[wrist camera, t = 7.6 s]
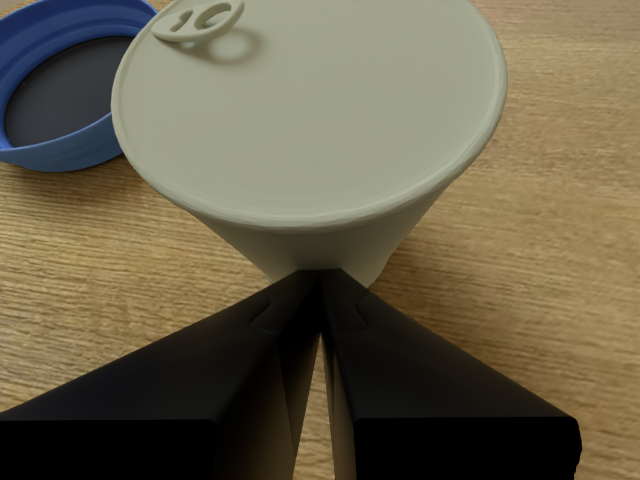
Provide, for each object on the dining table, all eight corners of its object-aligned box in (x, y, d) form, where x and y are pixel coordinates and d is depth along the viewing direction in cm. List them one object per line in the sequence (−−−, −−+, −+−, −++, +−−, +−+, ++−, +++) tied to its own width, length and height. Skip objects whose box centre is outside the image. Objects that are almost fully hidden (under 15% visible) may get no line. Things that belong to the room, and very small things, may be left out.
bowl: (194, 153, 19) (165, 119, 16) (-27, 202, 19) (-104, 177, 16) (186, 16, 25) (163, -31, 22) (16, 52, 25) (-34, 10, 21)
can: (285, 165, 19) (214, -85, 7) (403, 196, 17) (540, -58, 6) (233, 276, 16) (-20, 140, 4) (370, 325, 14) (516, 309, 3)
